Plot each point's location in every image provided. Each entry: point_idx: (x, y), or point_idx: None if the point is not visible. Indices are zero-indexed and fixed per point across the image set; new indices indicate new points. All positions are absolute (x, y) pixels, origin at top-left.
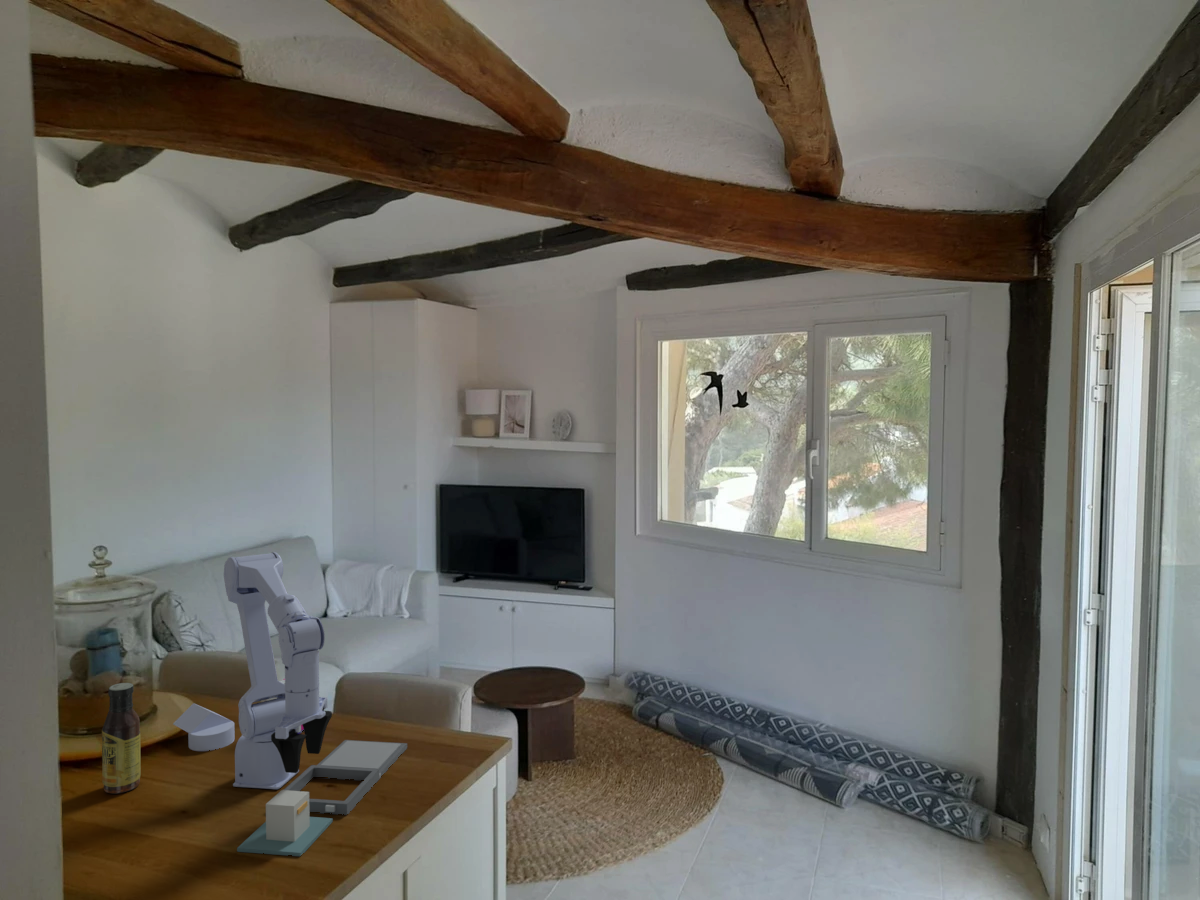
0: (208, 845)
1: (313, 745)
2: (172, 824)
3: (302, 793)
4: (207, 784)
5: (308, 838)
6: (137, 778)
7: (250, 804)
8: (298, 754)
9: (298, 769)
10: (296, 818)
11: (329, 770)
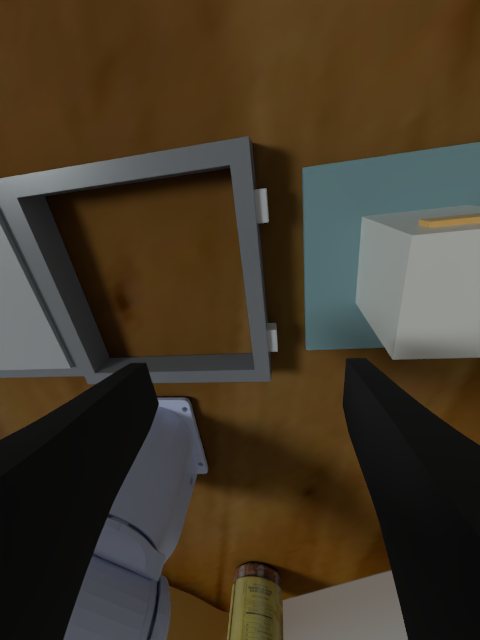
0: (442, 407)
1: (132, 412)
2: (356, 489)
3: (430, 258)
4: (212, 500)
5: (447, 168)
6: (252, 579)
7: (259, 415)
8: (442, 431)
9: (352, 362)
10: None
11: (81, 333)
